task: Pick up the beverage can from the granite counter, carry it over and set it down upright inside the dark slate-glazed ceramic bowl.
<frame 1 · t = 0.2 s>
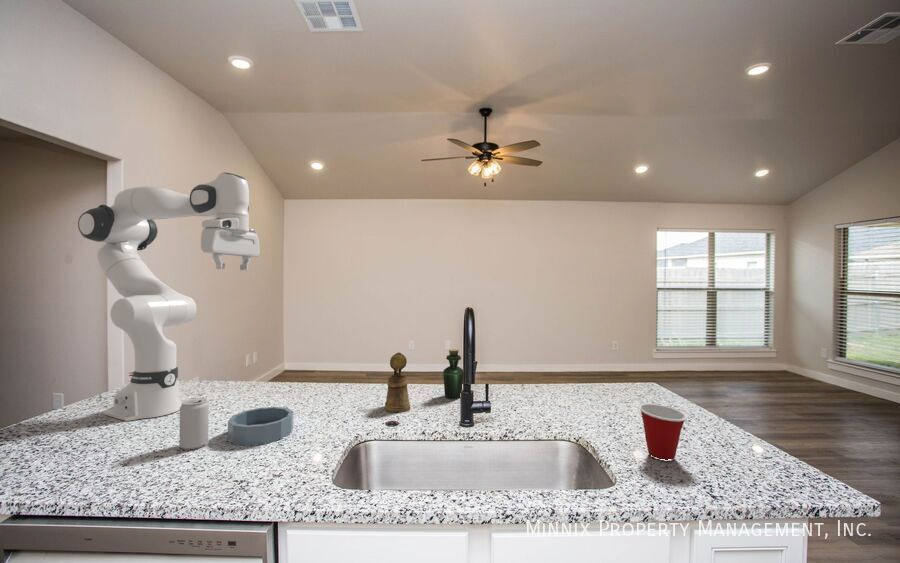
hand: (232, 269, 121), 47 cm above the worktop, tool pointing down, fingers open, 8 cm apart
bowl: (261, 433, 112), on the worktop
wooden bell: (397, 406, 137), on the worktop
potion bottle: (453, 397, 150), on the worktop
plastic cup: (662, 457, 99), on the worktop
beverage can: (193, 446, 103), on the worktop
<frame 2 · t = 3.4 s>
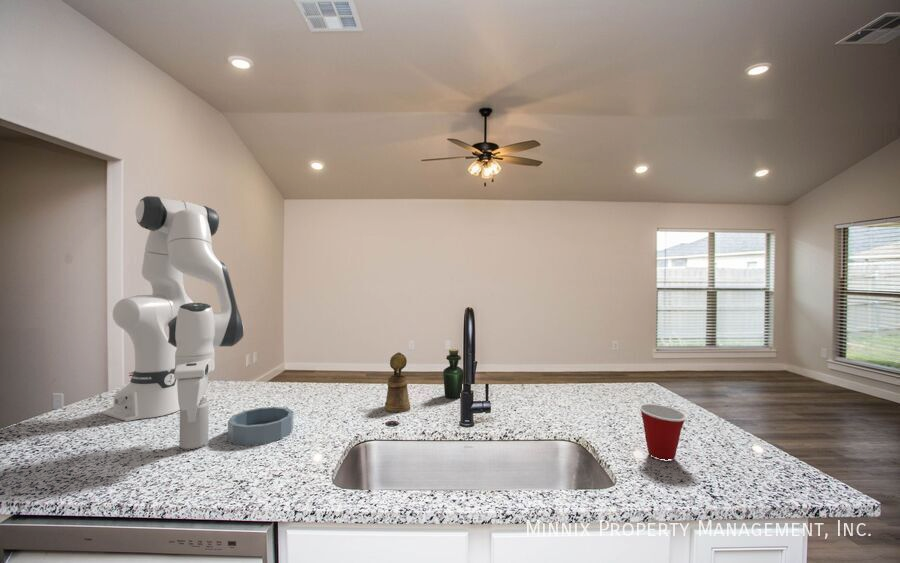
hand: (194, 416, 103), 8 cm above the worktop, tool pointing down, fingers open, 6 cm apart
beverage can: (193, 446, 103), on the worktop, touching gripper
everything else where it was.
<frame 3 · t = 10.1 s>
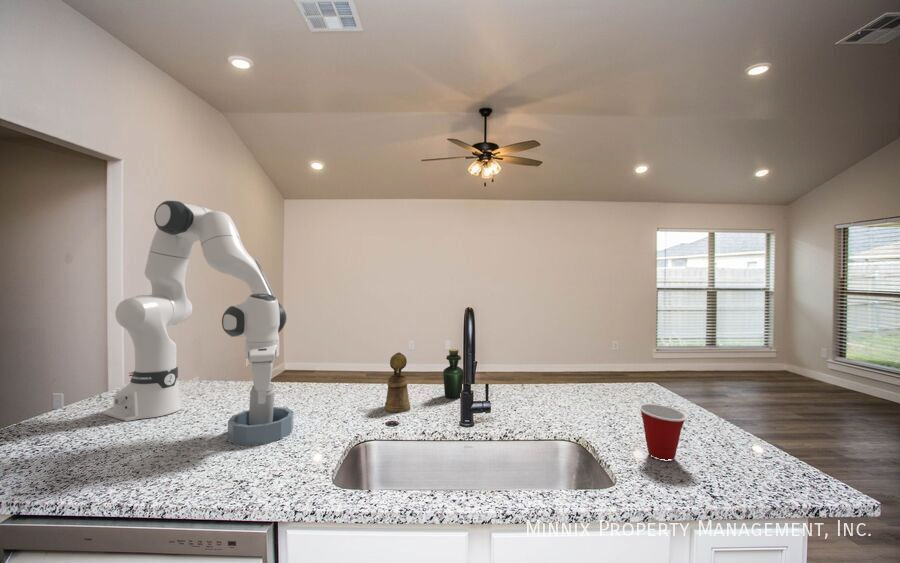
hand: (261, 398, 112), 10 cm above the worktop, tool pointing down, fingers open, 8 cm apart
beverage can: (260, 424, 114), point 2 cm above the worktop, touching bowl, gripper
everything else where it was.
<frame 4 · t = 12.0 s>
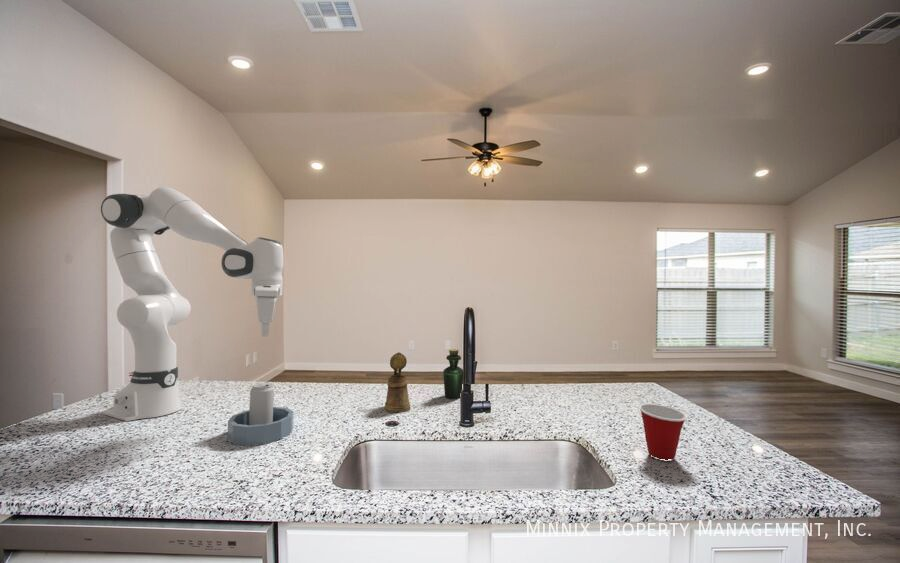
hand: (265, 334, 121), 27 cm above the worktop, tool pointing down, fingers open, 8 cm apart
beverage can: (260, 426, 114), point 1 cm above the worktop, touching bowl
everything else where it was.
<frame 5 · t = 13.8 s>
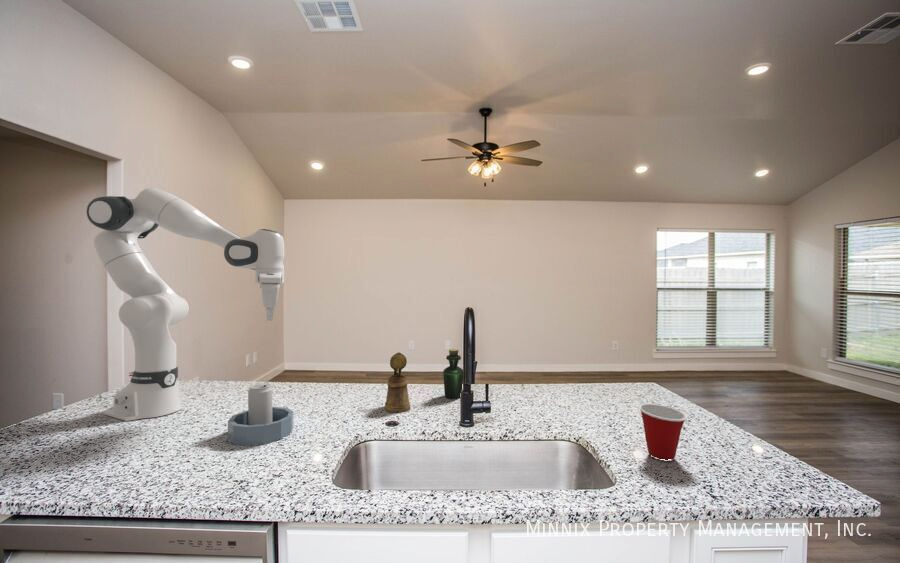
hand: (269, 319, 130), 31 cm above the worktop, tool pointing down, fingers open, 8 cm apart
nothing on the worktop moved.
at the end: beverage can inside the target area on the bowl (3.3 cm from its centre), point 0.8 cm above the bowl's base; beverage can tilted 1°; the gripper is holding nothing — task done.
